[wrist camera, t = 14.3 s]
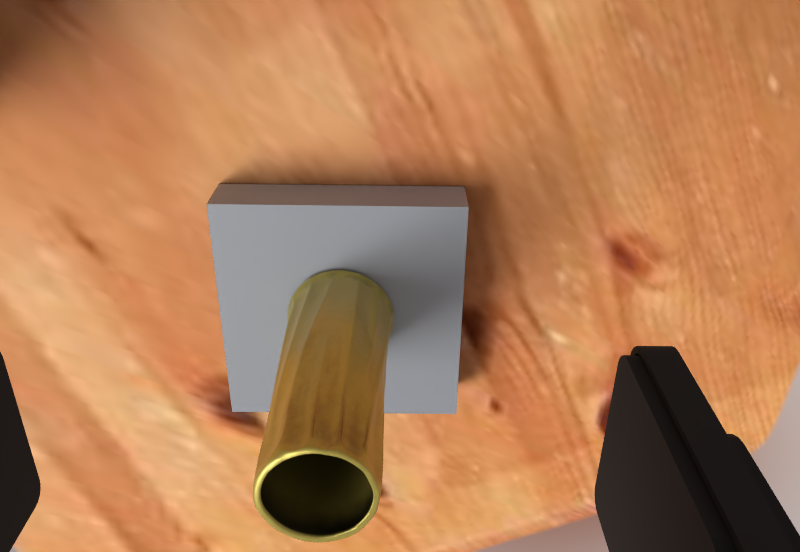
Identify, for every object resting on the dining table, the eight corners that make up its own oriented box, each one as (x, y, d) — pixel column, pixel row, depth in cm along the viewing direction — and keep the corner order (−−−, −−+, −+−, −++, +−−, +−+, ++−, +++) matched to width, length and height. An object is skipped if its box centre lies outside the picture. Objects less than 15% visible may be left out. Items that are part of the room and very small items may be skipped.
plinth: (218, 183, 42) (206, 204, 39) (464, 186, 42) (468, 206, 39) (241, 382, 48) (232, 411, 46) (453, 384, 48) (456, 413, 46)
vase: (405, 281, 41) (407, 456, 29) (380, 367, 44) (372, 561, 32) (298, 258, 41) (252, 427, 28) (280, 347, 43) (231, 537, 31)
